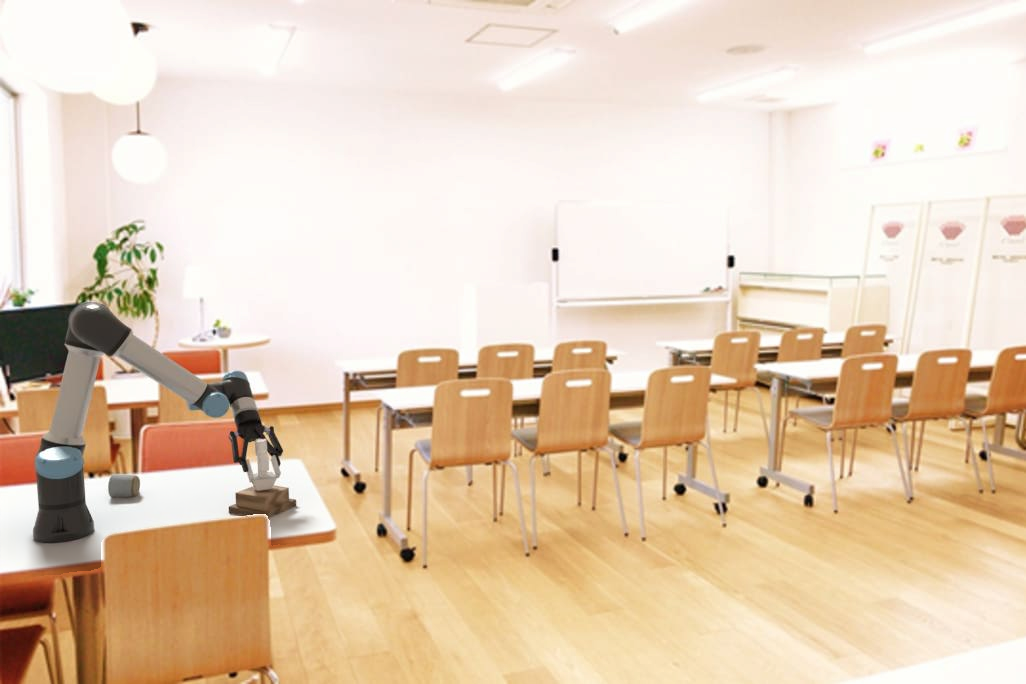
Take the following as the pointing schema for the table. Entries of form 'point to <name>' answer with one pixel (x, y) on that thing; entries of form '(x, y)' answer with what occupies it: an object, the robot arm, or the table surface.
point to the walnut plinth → (268, 512)
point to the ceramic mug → (123, 485)
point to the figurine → (263, 467)
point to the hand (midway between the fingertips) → (265, 477)
